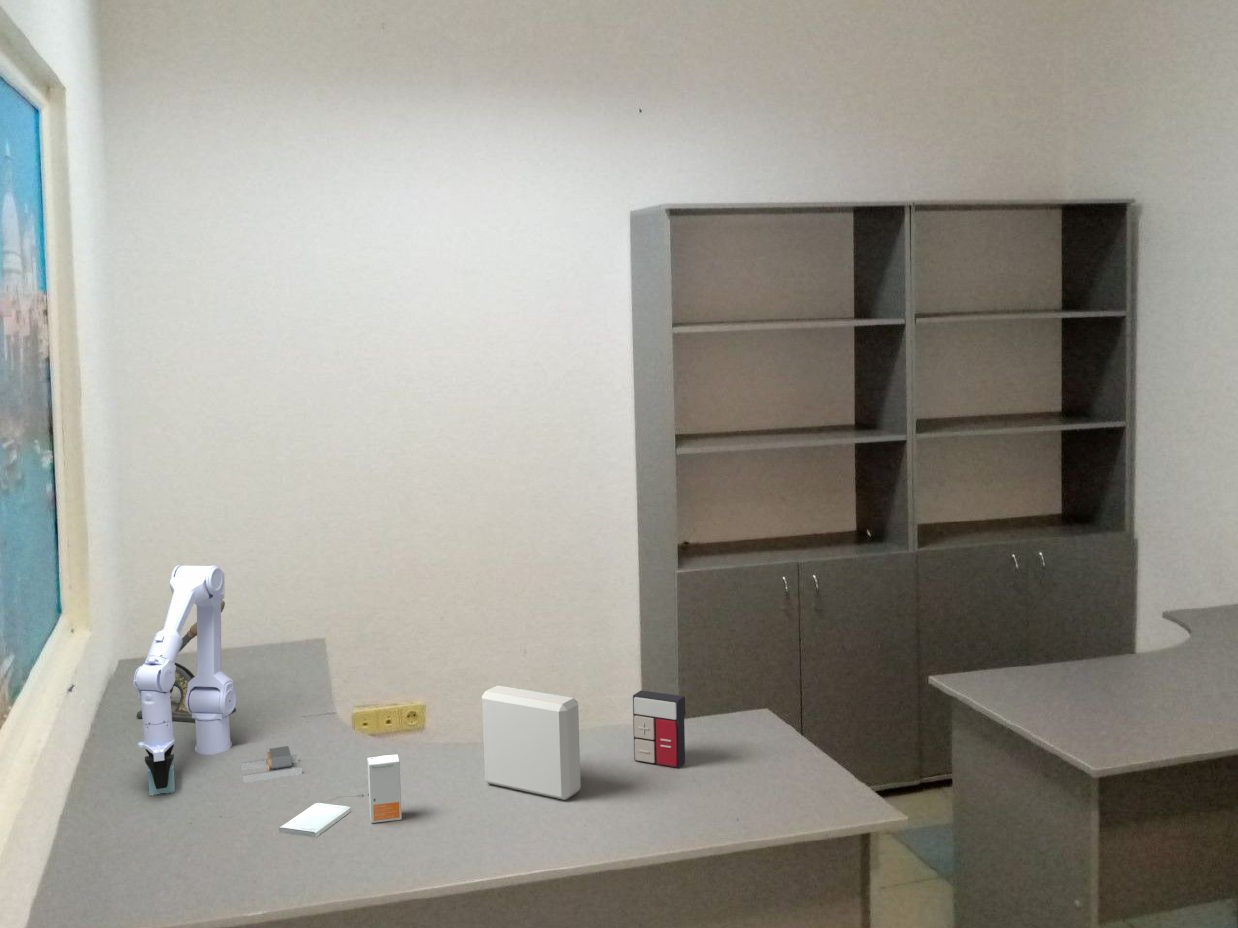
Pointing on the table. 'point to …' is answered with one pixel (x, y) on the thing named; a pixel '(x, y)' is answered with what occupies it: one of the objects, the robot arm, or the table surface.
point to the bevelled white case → (531, 741)
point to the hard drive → (315, 820)
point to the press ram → (279, 758)
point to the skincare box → (384, 788)
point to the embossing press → (184, 681)
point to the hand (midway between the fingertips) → (161, 782)
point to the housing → (170, 785)
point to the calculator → (659, 728)
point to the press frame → (268, 774)
